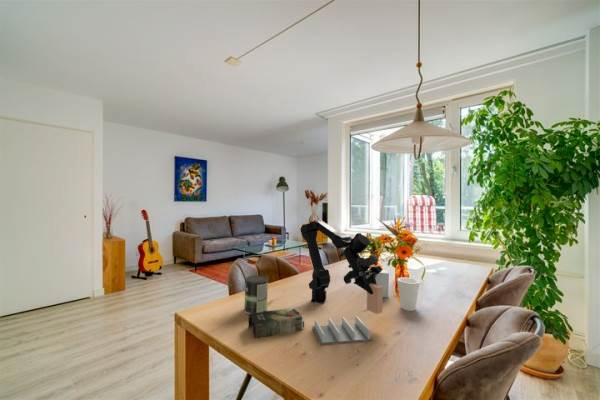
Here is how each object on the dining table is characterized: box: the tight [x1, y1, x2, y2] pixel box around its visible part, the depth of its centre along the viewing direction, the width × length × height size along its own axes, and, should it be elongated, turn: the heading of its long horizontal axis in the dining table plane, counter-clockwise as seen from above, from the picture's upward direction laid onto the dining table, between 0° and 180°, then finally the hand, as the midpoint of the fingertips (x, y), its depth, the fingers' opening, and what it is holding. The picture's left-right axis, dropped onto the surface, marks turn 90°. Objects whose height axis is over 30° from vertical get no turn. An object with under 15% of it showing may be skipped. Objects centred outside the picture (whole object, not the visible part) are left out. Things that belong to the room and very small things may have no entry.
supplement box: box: [375, 269, 390, 298], centre depth 140 cm, size 7×7×13 cm
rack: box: [311, 315, 373, 345], centre depth 96 cm, size 12×19×4 cm, turn 100°
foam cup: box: [397, 277, 420, 312], centre depth 122 cm, size 10×9×13 cm
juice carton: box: [248, 307, 305, 339], centre depth 100 cm, size 20×10×6 cm, turn 113°
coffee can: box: [243, 275, 269, 315], centre depth 116 cm, size 10×10×14 cm
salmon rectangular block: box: [366, 283, 383, 315], centre depth 103 cm, size 5×3×10 cm, turn 37°
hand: (375, 293), depth 102 cm, fingers closed on salmon rectangular block, 3 cm apart
